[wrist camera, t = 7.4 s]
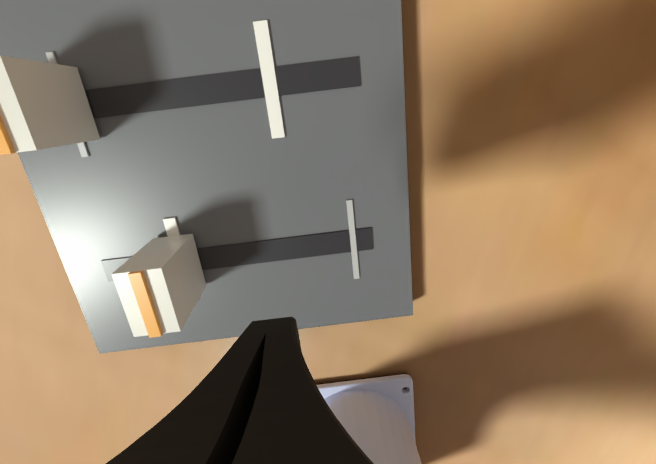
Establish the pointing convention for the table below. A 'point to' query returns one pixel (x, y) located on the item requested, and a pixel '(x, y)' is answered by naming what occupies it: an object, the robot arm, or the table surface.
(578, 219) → the table surface
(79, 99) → the fader
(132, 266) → the fader
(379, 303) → the console
